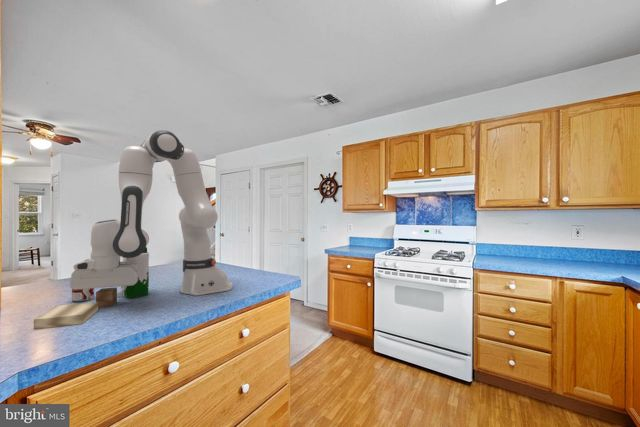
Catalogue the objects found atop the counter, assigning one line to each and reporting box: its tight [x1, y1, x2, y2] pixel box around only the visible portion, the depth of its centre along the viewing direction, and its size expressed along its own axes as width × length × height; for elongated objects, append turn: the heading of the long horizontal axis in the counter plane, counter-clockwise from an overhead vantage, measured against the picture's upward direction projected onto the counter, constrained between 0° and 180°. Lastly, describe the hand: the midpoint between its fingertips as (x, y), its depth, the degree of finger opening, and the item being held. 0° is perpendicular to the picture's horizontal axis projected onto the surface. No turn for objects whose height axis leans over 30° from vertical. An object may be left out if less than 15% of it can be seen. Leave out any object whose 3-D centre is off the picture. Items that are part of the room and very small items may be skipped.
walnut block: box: [95, 286, 118, 309], centre depth 103 cm, size 5×5×6 cm
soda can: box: [71, 288, 95, 303], centre depth 108 cm, size 7×7×12 cm
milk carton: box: [122, 246, 150, 300], centre depth 114 cm, size 9×9×20 cm
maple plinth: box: [33, 301, 99, 330], centre depth 90 cm, size 12×12×3 cm
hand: (105, 298), depth 102 cm, fingers open, 8 cm apart
